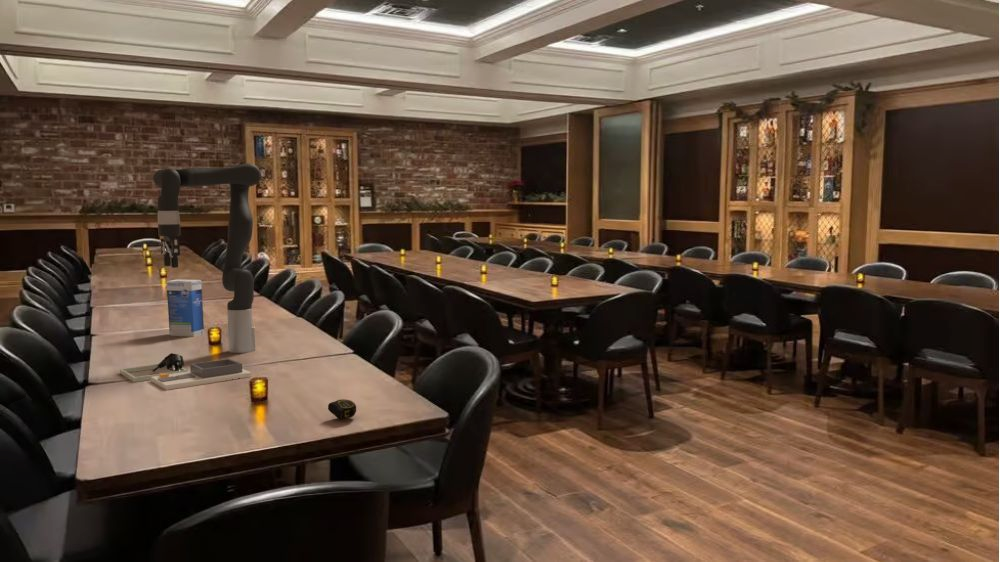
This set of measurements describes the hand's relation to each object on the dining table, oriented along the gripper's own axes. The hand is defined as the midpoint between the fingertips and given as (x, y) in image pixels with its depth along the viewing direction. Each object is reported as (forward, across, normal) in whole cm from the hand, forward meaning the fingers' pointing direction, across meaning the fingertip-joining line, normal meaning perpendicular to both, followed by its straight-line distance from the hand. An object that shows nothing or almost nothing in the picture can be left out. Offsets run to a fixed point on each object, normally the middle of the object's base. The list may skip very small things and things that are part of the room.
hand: (171, 266), depth 273 cm
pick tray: (+36, -15, +12) cm, 41 cm away
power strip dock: (+36, -34, +2) cm, 50 cm away
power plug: (+38, -14, +12) cm, 42 cm away
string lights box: (+36, +52, -21) cm, 67 cm away
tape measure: (+36, -105, -9) cm, 111 cm away
